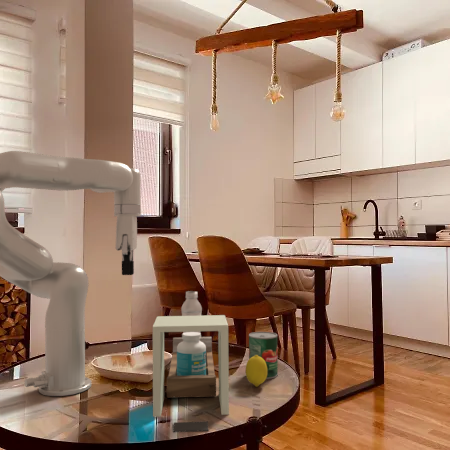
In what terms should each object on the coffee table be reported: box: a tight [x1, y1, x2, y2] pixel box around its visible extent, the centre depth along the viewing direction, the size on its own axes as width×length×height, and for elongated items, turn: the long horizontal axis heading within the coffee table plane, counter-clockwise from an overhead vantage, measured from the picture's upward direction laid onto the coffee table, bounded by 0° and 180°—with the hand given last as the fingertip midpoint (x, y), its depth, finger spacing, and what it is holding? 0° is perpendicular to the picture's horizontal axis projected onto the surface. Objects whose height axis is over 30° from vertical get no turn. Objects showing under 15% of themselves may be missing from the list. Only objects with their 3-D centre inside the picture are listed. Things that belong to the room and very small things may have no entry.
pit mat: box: [172, 420, 209, 433], centre depth 94 cm, size 4×7×1 cm, turn 94°
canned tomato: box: [248, 331, 279, 380], centre depth 128 cm, size 8×8×11 cm
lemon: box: [245, 355, 267, 388], centre depth 119 cm, size 6×6×8 cm
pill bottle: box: [177, 332, 207, 376], centre depth 119 cm, size 8×7×14 cm
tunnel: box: [152, 314, 230, 418], centre depth 106 cm, size 12×16×19 cm
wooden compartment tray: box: [166, 336, 217, 399], centre depth 126 cm, size 32×12×7 cm, turn 4°
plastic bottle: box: [180, 290, 203, 335], centre depth 150 cm, size 6×7×20 cm
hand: (127, 274), depth 135 cm, fingers closed
